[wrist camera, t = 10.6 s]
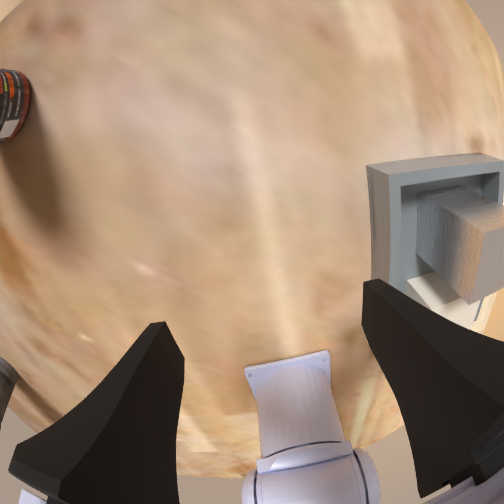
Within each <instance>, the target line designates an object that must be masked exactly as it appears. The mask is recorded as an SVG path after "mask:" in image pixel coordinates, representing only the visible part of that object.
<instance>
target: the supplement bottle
mask: <svg viewBox="0 0 504 504" xmlns="http://www.w3.org/2000/svg"><path fill="white" fill-rule="evenodd" d="M29 100H30V88H29V83H28V81H27V79H26V77H25V75H24V74H22V72H19V71H14V70H5V69H4V68H3V69H0V144H1V143H4V142H7V141H9V140H10V139H12V138H13V137H14V136H15V135H16V133H17V132H18V131H19V129H20V128H21V126H22V124H23V122H24V120H25V117H26V114H27V111H28V106H29Z"/></svg>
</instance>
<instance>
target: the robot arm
mask: <svg viewBox="0 0 504 504" xmlns="http://www.w3.org/2000/svg"><path fill="white" fill-rule="evenodd" d="M362 327H363V330H364V332H365V335H366V338H367V340H368V343H369V345H370V348H371V350H372V352H373V353H374V355H375V357H376V359H377V361H378V363H379V365H380V367H381V369H382V371H383V373H384V375H385V377H386V379H387V381H388V383H389V384H390V386H391V388H392V390H393V393H394V395H395V397H396V400H397V402H398V405H399V408H400V411H401V414H402V417H403V420H404V423H405V427H406V430H407V434H408V437H409V441H410V446H411V450H412V454H413V459H414V465H415V471H416V478H417V486H418V492H419V495H420V498H423V497H426V496H427V495H430V494H431V493H433V492H435V491H437V490H439V489H441V488H443V487H445V486H446V485H448V484H450V485H451V489H450V490H448V491H446V492H444V493H442V494H441V495H439V496H437V497H435V498H433V499H431V500H429V501H427V502H425V503H423V504H504V342H502V341H499V340H496V339H493V338H490V337H487V336H484V335H482V334H479V333H477V332H474V331H472V330H469V329H467V328H465V327H463V326H461V325H458V324H456V323H454V322H452V321H450V320H448V319H446V318H444V317H443V316H441V315H439V314H437V313H435V312H433V311H432V310H430V309H428V308H427V307H425V306H423V305H421V304H420V303H418V302H417V301H415V300H413V299H412V298H410V297H408V296H407V295H405V294H404V293H402V292H401V291H399V290H397V289H396V288H394V287H393V286H391V285H389V284H388V283H386V282H384V281H383V280H381V279H379V278H377V279H374V280H370V281H366V282H363V308H362ZM184 360H185V358H184V356H183V355H182V353H181V351H180V349H179V347H178V345H177V343H176V342H175V340H174V338H173V336H172V334H171V332H170V330H169V328H168V326H167V324H166V322H165V321H164V322H156V323H150V325H149V326H148V327H147V328H146V329H145V330H144V331H143V332H142V334H141V335H140V336H139V337H138V339H137V340H136V341H135V342H134V344H133V345H132V346H131V347H130V349H129V350H128V351H127V352H126V353H125V355H124V356H123V357H122V358H121V360H120V361H119V362H118V363H117V364H116V366H115V367H114V368H113V369H112V370H111V371H110V372H109V374H108V375H107V376H106V377H105V378H104V379H103V380H102V382H101V383H100V384H99V385H98V386H97V387H96V388H95V389H94V390H93V391H92V392H91V393H90V394H89V395H88V396H87V397H86V398H85V399H84V400H83V401H82V402H80V403H79V404H78V405H77V406H76V407H75V408H73V409H72V410H71V411H70V412H68V413H67V414H66V415H65V416H64V417H62V418H61V419H60V420H58V421H57V422H55V423H54V424H53V425H51V426H50V427H48V428H46V429H45V430H43V431H42V432H40V433H38V434H37V435H35V436H33V437H31V438H29V439H27V440H25V441H23V442H21V443H19V444H17V446H16V448H15V451H14V454H13V457H12V459H11V463H10V466H9V469H8V470H9V473H11V474H12V475H13V476H15V477H16V478H18V479H20V480H21V481H23V482H24V483H26V484H27V485H29V486H31V487H33V488H35V489H36V490H38V491H40V492H42V493H43V494H45V495H47V496H48V499H47V501H46V500H44V499H42V498H40V497H39V496H37V495H35V494H33V493H31V492H30V491H28V490H26V489H24V488H23V489H22V491H21V496H20V500H19V504H180V503H179V495H178V487H177V473H176V434H177V426H178V419H179V412H180V406H181V399H182V392H183V385H184ZM244 373H245V376H246V378H247V381H248V383H249V385H250V388H251V390H252V392H253V395H254V397H255V399H256V401H257V410H258V423H259V435H260V448H261V459H257V469H253V470H250V471H249V473H248V474H247V476H246V477H245V478H244V480H243V484H242V504H379V502H380V495H381V494H380V485H379V479H378V475H377V471H376V468H375V465H374V462H373V460H372V458H371V456H370V455H369V454H368V452H366V451H364V450H362V449H361V448H356V449H352V445H351V442H350V441H346V440H345V436H344V432H343V429H342V425H341V422H340V418H339V415H338V411H337V408H336V405H335V401H334V398H333V394H332V391H331V364H330V353H329V351H328V350H323V351H319V352H315V353H311V354H307V355H303V356H299V357H294V358H290V359H285V360H280V361H275V362H270V363H265V364H260V365H254V366H248V367H246V368H245V369H244Z"/></svg>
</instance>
